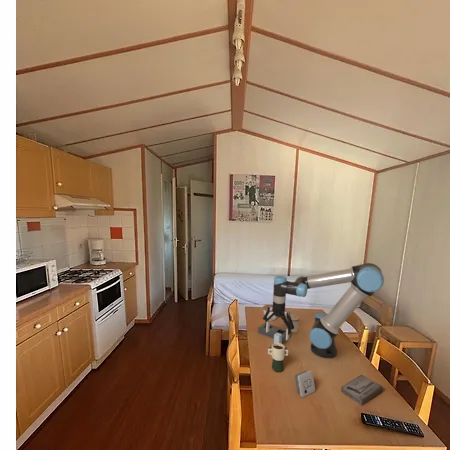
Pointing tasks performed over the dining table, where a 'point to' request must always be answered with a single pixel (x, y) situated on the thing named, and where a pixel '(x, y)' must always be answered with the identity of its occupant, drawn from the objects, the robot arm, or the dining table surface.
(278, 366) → the character mug
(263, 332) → the battery charging station
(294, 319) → the teacup with lid
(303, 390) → the electrical switch
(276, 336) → the plug
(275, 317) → the lidded bowl
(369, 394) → the box
